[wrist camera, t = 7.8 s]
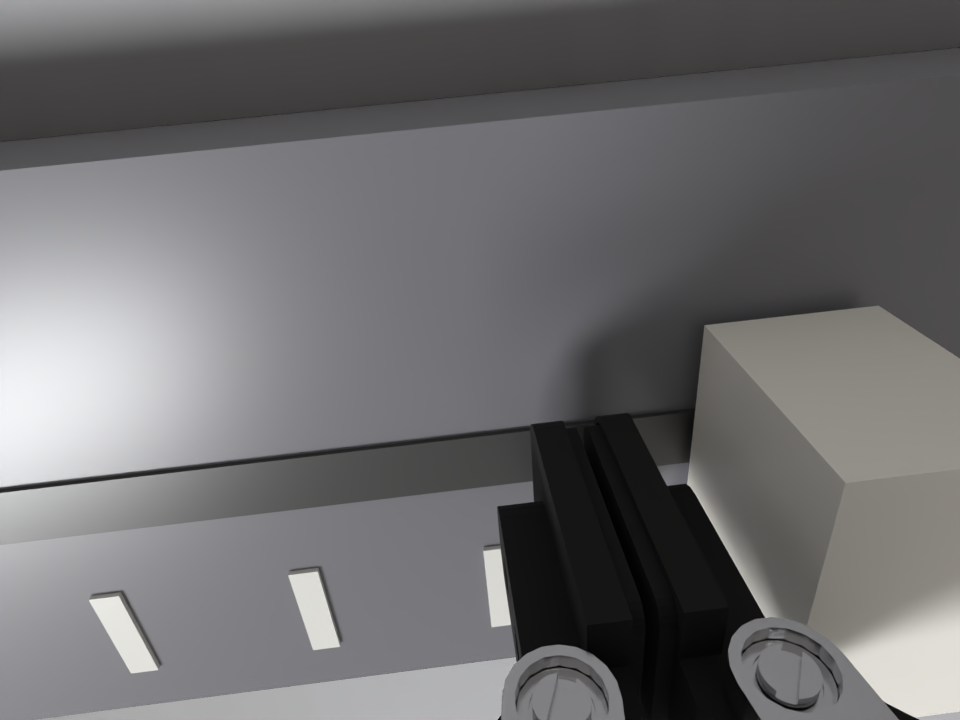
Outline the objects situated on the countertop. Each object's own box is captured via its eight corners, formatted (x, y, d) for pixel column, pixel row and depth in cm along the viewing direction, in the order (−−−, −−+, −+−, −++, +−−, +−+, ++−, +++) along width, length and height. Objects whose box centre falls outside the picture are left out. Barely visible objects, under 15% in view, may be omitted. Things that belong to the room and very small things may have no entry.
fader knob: (704, 325, 11) (845, 482, 7) (878, 305, 11) (1102, 451, 7) (680, 540, 13) (777, 736, 10) (822, 523, 13) (968, 710, 10)
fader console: (-228, 164, 11) (-435, 215, 8) (1078, 36, 12) (1270, 44, 9) (55, 615, 17) (-14, 730, 14) (912, 508, 18) (1000, 598, 15)
